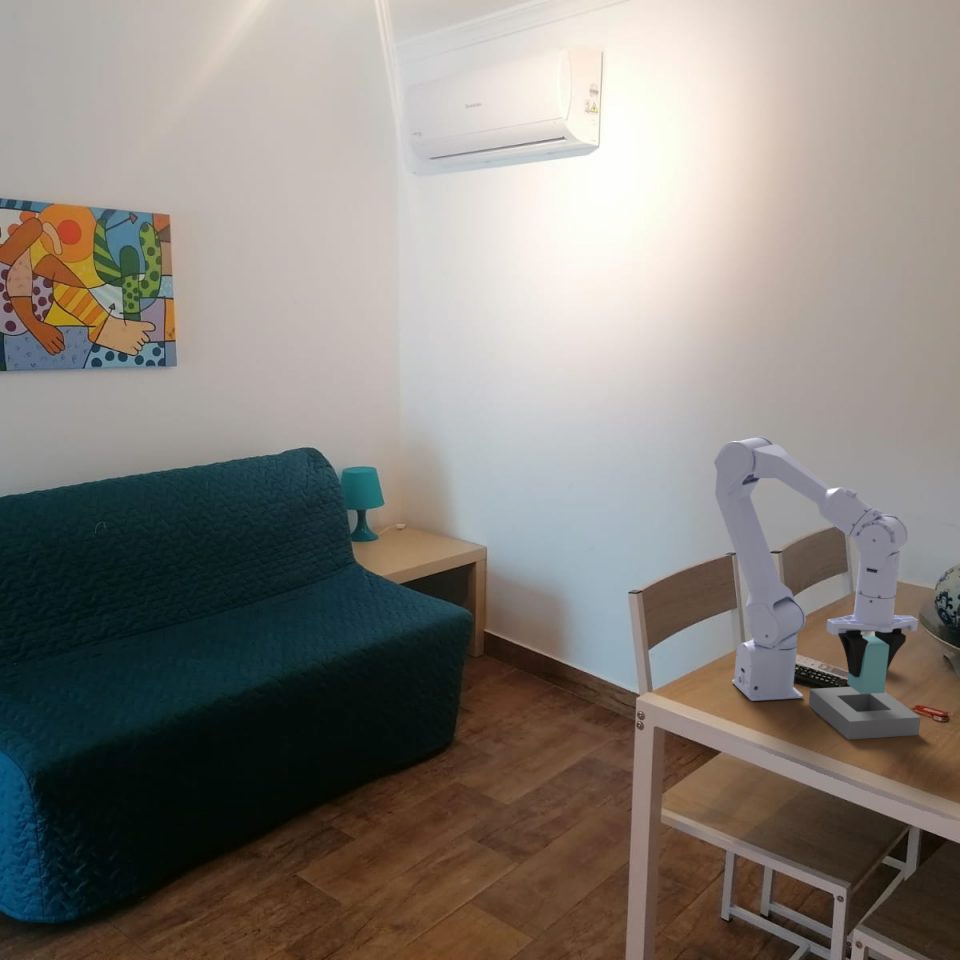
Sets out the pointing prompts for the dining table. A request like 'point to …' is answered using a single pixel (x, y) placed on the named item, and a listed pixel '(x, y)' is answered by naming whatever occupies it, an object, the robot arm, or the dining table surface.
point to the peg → (871, 668)
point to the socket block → (863, 713)
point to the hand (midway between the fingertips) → (866, 674)
